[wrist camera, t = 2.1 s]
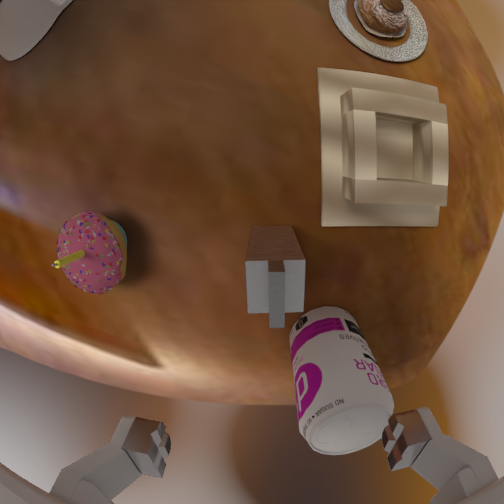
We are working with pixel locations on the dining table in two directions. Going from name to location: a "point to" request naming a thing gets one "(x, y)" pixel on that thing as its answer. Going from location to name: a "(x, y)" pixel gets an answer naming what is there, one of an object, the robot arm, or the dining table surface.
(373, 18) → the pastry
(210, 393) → the dining table surface
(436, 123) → the well
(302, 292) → the grey long block
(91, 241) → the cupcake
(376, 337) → the dining table surface
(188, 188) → the dining table surface
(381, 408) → the supplement can
